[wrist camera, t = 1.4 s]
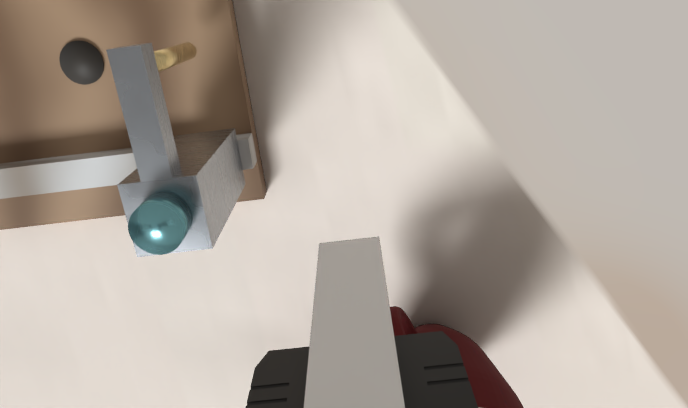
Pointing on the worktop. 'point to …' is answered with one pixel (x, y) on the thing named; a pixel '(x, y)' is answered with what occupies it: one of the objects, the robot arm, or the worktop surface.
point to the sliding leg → (171, 160)
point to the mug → (467, 363)
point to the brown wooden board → (106, 99)
